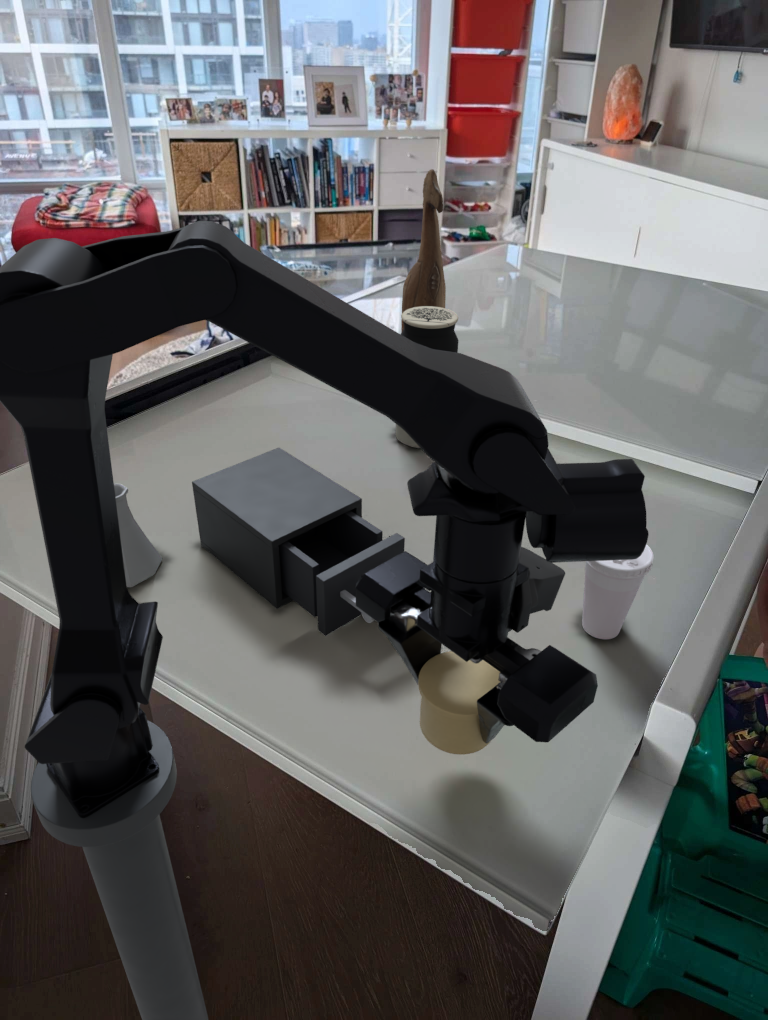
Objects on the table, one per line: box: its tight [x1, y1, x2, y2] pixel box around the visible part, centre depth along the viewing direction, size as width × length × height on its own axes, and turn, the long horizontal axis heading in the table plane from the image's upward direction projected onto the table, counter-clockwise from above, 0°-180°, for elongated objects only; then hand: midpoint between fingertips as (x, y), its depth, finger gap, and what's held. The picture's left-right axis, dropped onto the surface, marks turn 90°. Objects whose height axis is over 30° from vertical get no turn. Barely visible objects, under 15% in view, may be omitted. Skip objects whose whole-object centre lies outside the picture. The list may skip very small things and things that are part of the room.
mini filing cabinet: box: [191, 447, 363, 610], centre depth 83 cm, size 15×12×9 cm
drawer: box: [279, 511, 425, 637], centre depth 77 cm, size 18×10×7 cm, turn 43°
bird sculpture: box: [400, 168, 447, 332], centre depth 117 cm, size 11×12×32 cm
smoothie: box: [581, 543, 655, 640], centre depth 72 cm, size 6×6×14 cm
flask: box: [114, 482, 163, 588], centre depth 80 cm, size 7×7×10 cm
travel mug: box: [395, 306, 459, 449], centre depth 104 cm, size 8×8×18 cm
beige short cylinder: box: [417, 650, 500, 755], centre depth 59 cm, size 7×7×5 cm
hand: (458, 714), depth 60 cm, fingers closed on beige short cylinder, 6 cm apart
